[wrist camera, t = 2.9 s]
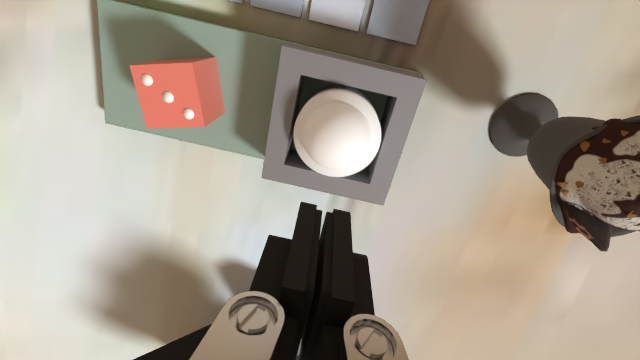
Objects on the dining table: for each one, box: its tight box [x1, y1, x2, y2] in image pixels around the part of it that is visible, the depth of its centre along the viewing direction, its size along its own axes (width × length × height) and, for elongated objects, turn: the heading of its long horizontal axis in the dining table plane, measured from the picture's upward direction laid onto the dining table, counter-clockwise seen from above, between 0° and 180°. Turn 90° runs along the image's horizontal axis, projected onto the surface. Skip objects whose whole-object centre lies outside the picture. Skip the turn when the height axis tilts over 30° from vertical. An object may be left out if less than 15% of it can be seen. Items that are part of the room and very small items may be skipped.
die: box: [129, 57, 225, 129], centre depth 23 cm, size 4×4×4 cm
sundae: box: [490, 94, 640, 251], centre depth 19 cm, size 7×7×15 cm
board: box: [97, 0, 427, 205], centre depth 24 cm, size 9×23×5 cm, turn 78°
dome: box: [293, 85, 381, 177], centre depth 21 cm, size 6×6×5 cm
